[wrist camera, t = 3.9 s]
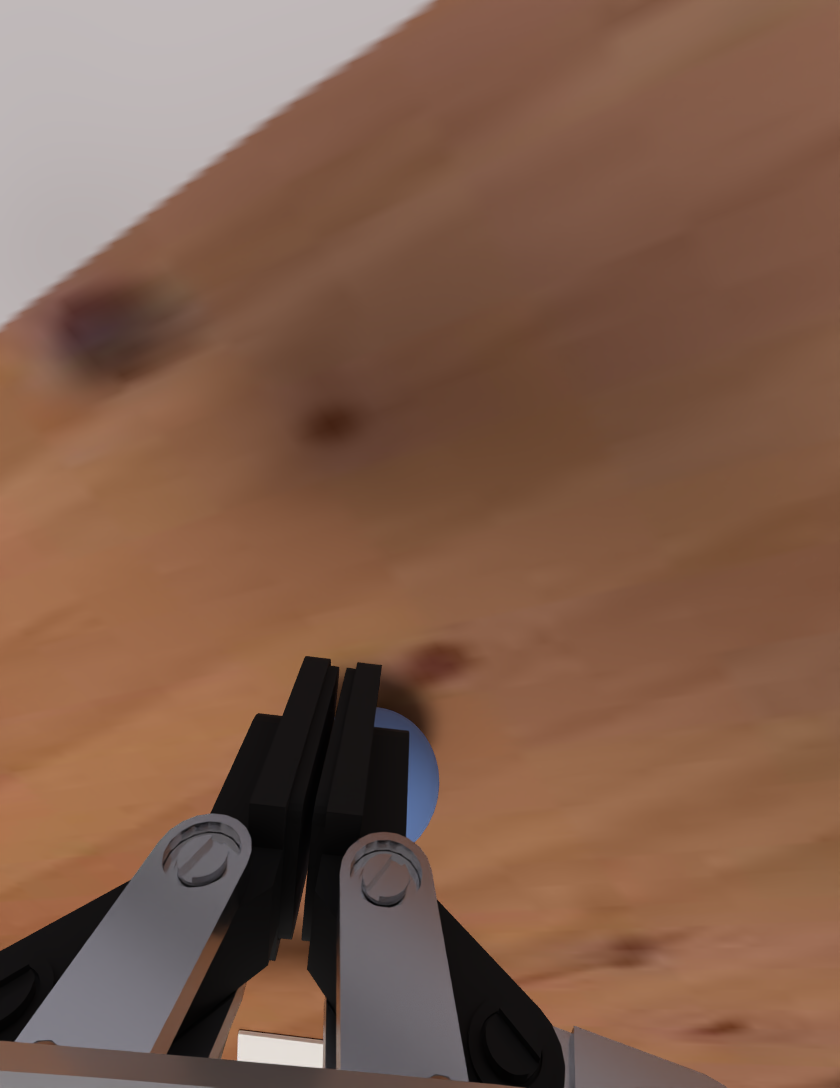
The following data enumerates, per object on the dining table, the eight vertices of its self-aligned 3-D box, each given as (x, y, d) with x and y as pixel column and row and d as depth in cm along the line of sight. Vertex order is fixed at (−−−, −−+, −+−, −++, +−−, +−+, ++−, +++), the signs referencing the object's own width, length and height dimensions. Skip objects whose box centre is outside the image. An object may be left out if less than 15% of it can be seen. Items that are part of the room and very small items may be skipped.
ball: (317, 671, 24) (281, 767, 19) (447, 688, 24) (451, 790, 19) (309, 774, 26) (274, 889, 21) (429, 790, 26) (427, 909, 21)
